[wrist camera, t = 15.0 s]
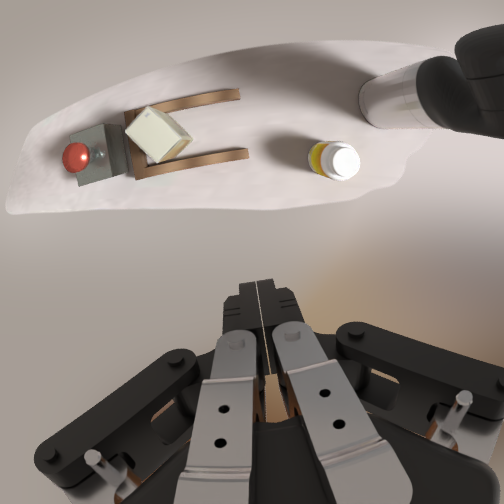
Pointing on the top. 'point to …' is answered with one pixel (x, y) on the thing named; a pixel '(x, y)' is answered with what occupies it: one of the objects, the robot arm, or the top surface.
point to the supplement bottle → (334, 160)
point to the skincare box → (158, 134)
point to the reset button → (77, 157)
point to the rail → (144, 171)
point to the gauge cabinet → (102, 153)
